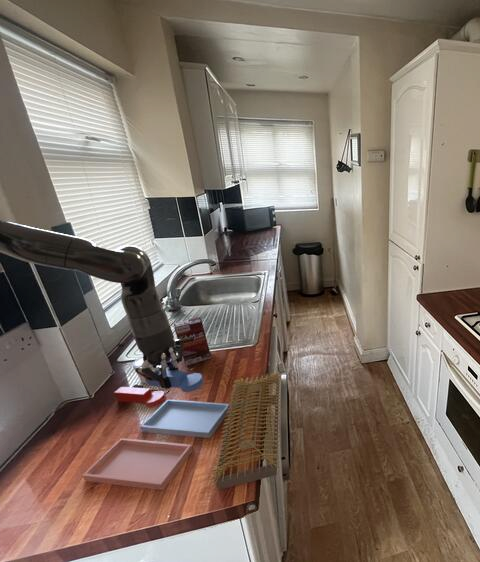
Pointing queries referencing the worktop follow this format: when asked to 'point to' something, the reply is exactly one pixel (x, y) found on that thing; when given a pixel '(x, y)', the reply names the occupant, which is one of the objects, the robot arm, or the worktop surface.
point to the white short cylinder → (138, 364)
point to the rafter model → (243, 406)
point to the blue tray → (186, 418)
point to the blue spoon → (181, 380)
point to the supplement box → (193, 340)
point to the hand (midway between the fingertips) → (171, 383)
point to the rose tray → (139, 464)
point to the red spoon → (140, 396)
